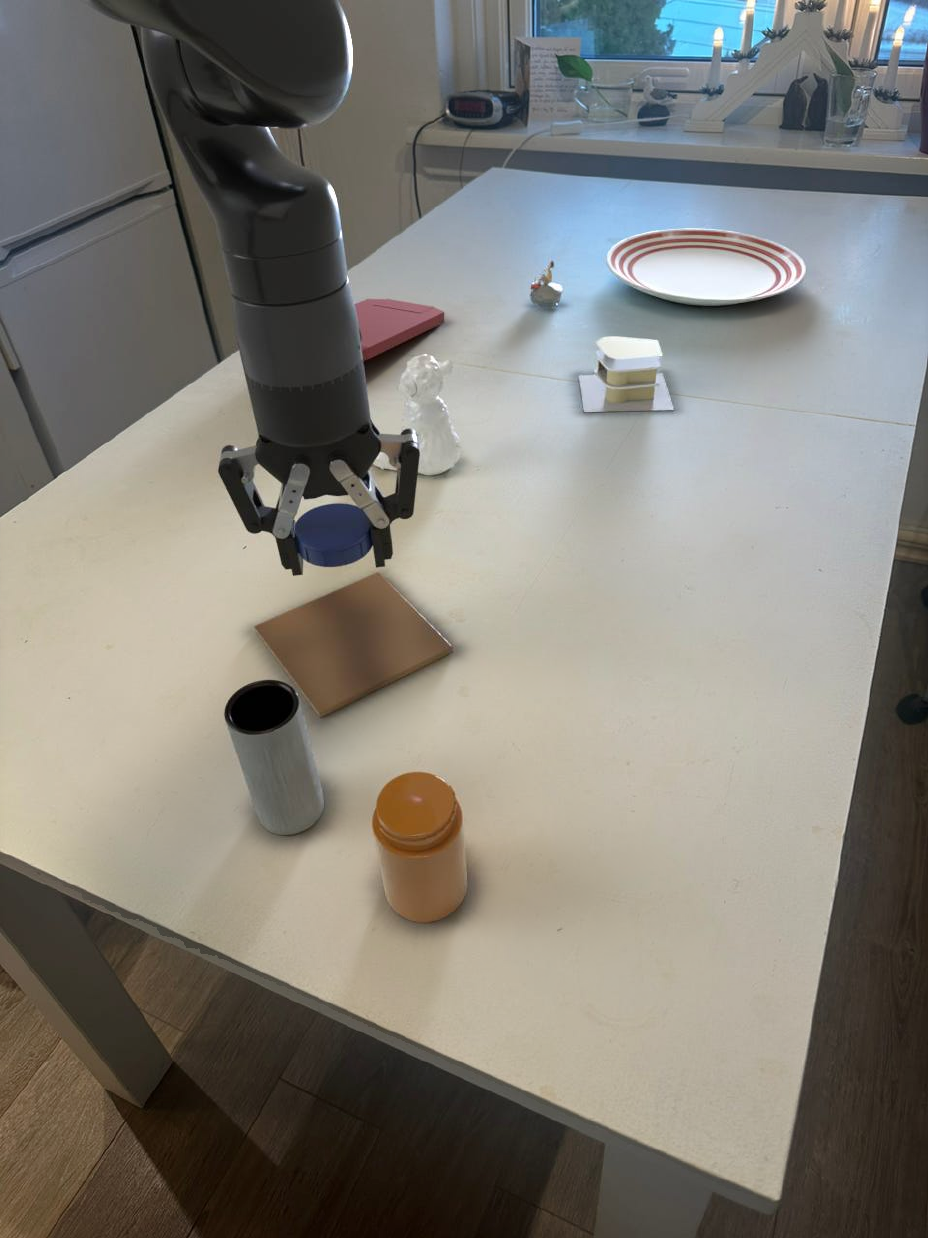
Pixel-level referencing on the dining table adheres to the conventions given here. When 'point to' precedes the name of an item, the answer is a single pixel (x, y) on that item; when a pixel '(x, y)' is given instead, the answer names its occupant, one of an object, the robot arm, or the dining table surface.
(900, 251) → the dining table surface
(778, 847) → the dining table surface
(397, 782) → the honey jar
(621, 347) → the stacked layers on plate
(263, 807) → the grey tumbler
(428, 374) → the white creature statuette
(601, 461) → the dining table surface
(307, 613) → the cork coaster
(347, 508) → the jar lid
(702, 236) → the dinner plate
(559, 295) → the figurine
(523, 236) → the dining table surface
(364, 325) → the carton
